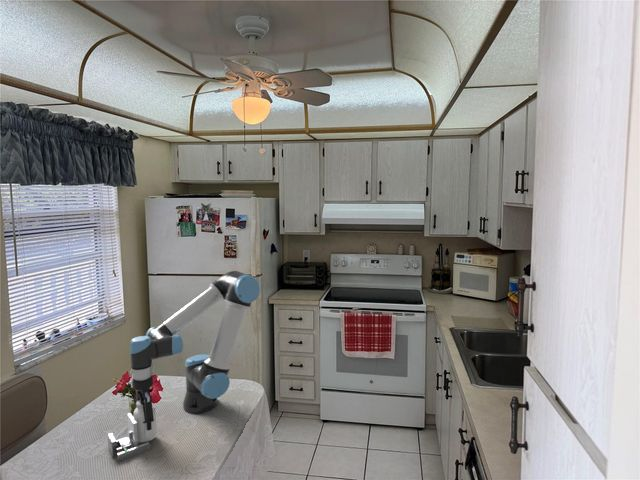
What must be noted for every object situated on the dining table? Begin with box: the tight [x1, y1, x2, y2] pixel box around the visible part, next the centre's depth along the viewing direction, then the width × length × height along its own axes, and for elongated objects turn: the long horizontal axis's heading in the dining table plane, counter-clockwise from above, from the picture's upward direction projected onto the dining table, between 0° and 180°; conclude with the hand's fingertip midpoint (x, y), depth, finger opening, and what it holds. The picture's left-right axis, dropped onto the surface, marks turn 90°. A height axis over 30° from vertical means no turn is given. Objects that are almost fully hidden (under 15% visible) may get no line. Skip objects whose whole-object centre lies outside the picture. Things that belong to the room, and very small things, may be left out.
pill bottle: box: [132, 400, 158, 443], centre depth 162 cm, size 8×8×15 cm
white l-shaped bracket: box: [119, 412, 139, 452], centre depth 157 cm, size 5×12×10 cm, turn 38°
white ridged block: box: [107, 432, 152, 462], centre depth 157 cm, size 12×10×6 cm
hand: (145, 431), depth 163 cm, fingers closed on pill bottle, 8 cm apart
